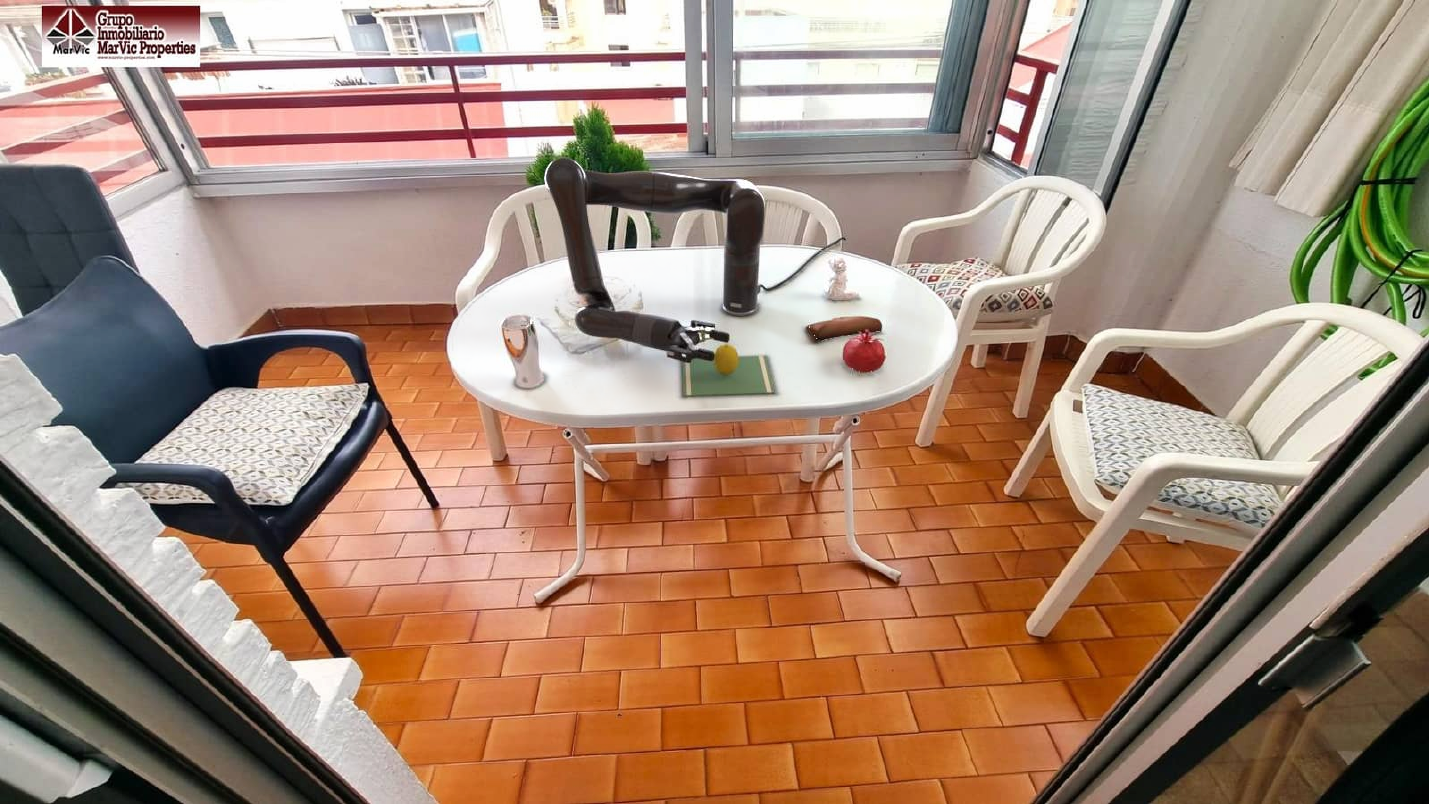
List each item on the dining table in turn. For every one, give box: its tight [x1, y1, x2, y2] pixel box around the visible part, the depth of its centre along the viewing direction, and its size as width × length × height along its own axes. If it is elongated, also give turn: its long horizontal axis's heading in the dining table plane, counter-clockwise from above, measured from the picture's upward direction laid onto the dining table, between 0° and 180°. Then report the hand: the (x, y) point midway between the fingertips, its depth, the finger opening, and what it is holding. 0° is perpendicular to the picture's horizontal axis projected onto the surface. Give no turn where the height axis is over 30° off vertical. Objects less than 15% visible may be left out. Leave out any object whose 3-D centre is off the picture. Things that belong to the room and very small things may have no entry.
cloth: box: [681, 355, 776, 398], centre depth 132 cm, size 15×20×1 cm
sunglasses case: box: [805, 315, 883, 343], centre depth 147 cm, size 18×7×7 cm
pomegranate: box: [842, 330, 887, 374], centre depth 132 cm, size 10×10×9 cm
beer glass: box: [500, 314, 545, 389], centre depth 125 cm, size 7×7×15 cm
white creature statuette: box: [823, 255, 860, 301], centre depth 161 cm, size 10×9×12 cm
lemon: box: [714, 343, 739, 375], centre depth 129 cm, size 6×6×8 cm
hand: (721, 347), depth 128 cm, fingers open, 8 cm apart
